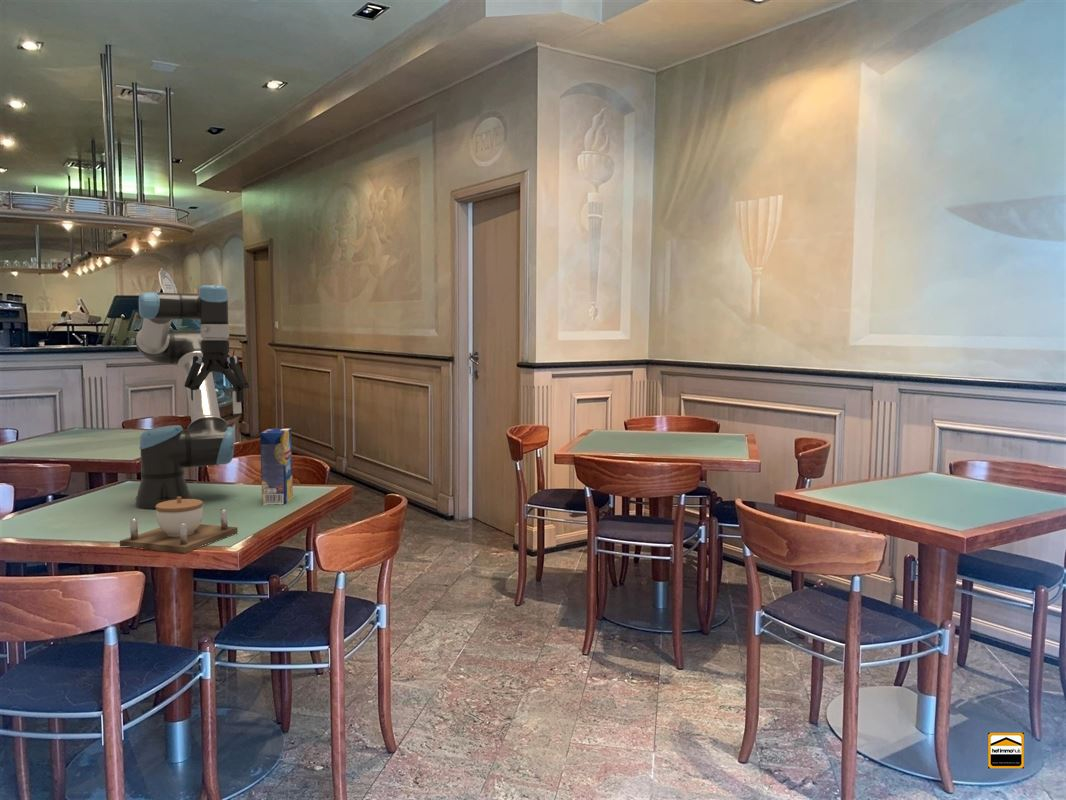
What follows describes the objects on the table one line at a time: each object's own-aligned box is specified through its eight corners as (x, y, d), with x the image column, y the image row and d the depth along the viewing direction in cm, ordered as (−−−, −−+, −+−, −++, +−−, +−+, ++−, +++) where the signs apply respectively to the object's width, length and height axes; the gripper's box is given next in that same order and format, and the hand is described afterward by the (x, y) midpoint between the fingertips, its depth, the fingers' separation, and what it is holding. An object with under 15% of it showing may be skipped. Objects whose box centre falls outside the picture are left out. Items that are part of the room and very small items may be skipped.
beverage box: (292, 497, 239) (291, 428, 237) (285, 504, 228) (283, 432, 226) (270, 497, 238) (268, 428, 236) (262, 505, 227) (260, 433, 225)
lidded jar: (170, 527, 194) (169, 492, 193) (211, 528, 194) (210, 492, 193) (148, 539, 184) (146, 501, 183) (191, 539, 183) (189, 501, 182)
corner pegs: (129, 539, 183) (128, 519, 183) (177, 523, 199) (176, 505, 198) (184, 544, 179) (183, 524, 178) (229, 528, 194) (228, 509, 194)
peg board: (119, 546, 182) (119, 540, 182) (176, 527, 200) (176, 522, 200) (185, 553, 177) (184, 547, 177) (237, 532, 195) (237, 527, 195)
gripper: (169, 339, 216) (172, 412, 218) (243, 339, 209) (245, 415, 211) (188, 339, 223) (190, 410, 225) (260, 339, 217) (262, 412, 218)
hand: (217, 412), depth 218 cm, fingers open, 13 cm apart
